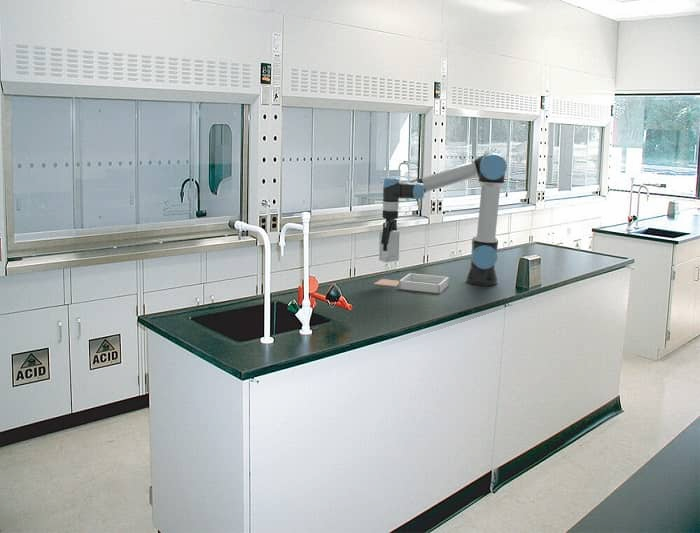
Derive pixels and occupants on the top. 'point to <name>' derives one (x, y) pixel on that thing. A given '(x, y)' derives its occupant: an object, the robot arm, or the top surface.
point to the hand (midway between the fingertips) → (388, 255)
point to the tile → (387, 283)
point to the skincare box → (390, 247)
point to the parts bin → (424, 283)
